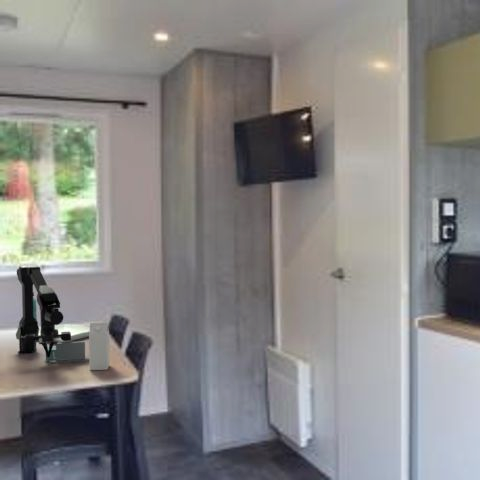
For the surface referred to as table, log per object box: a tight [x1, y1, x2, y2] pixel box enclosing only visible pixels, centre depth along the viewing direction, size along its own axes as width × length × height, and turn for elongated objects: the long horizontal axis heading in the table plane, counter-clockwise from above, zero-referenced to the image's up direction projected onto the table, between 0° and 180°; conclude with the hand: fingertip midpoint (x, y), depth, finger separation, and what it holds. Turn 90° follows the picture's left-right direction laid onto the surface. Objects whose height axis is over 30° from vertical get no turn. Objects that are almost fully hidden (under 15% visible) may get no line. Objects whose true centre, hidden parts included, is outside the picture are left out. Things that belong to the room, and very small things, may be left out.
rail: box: [48, 356, 90, 365], centre depth 259 cm, size 21×4×1 cm, turn 107°
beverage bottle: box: [33, 291, 38, 322], centre depth 325 cm, size 6×7×20 cm
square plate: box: [38, 324, 90, 343], centre depth 305 cm, size 27×27×4 cm
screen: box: [55, 340, 86, 360], centre depth 258 cm, size 12×1×7 cm, turn 108°
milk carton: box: [88, 321, 110, 371], centre depth 248 cm, size 7×7×19 cm
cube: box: [45, 346, 56, 362], centre depth 261 cm, size 5×5×5 cm
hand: (48, 357), depth 256 cm, fingers closed
